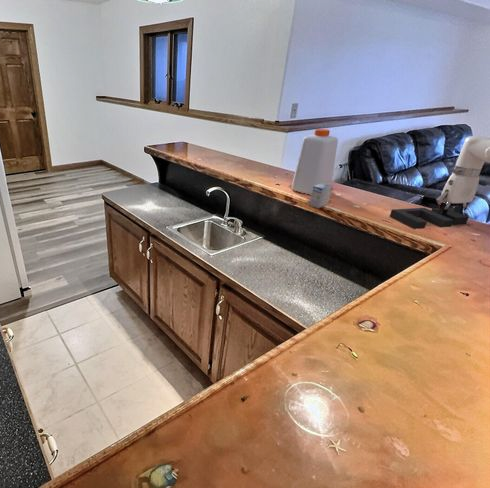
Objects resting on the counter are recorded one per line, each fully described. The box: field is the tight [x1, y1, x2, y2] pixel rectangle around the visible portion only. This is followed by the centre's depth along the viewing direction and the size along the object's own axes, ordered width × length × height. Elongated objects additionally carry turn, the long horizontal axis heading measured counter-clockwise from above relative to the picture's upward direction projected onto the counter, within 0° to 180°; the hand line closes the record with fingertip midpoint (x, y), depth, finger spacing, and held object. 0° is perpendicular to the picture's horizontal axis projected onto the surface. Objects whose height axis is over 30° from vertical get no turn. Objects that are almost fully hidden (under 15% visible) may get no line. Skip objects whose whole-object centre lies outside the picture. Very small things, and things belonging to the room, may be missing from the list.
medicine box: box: [309, 183, 333, 209], centre depth 146 cm, size 8×4×9 cm, turn 130°
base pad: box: [389, 207, 453, 230], centre depth 132 cm, size 15×13×3 cm
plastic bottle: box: [291, 128, 339, 196], centre depth 160 cm, size 15×15×28 cm
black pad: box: [431, 207, 470, 226], centre depth 134 cm, size 6×10×3 cm, turn 9°
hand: (447, 217), depth 135 cm, fingers closed on black pad, 6 cm apart
